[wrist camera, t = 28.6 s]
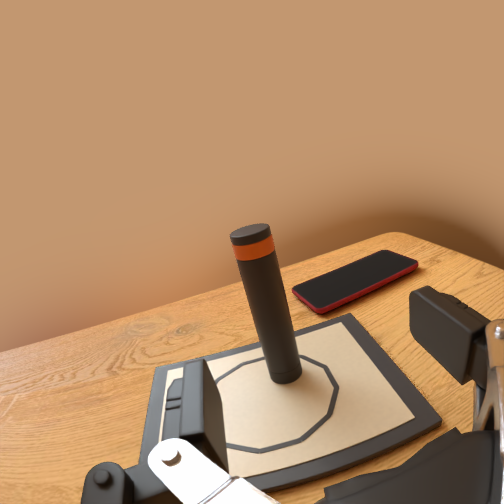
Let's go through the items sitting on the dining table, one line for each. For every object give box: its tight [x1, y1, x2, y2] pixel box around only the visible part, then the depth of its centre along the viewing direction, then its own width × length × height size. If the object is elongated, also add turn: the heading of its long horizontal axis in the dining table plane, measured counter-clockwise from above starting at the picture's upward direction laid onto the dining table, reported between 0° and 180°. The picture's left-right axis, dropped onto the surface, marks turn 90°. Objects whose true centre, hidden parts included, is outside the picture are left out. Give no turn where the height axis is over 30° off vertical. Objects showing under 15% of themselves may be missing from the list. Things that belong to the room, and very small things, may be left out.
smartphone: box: [292, 250, 418, 314], centre depth 36 cm, size 7×1×15 cm
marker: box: [230, 224, 302, 384], centre depth 22 cm, size 3×3×12 cm
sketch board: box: [139, 313, 442, 493], centre depth 22 cm, size 20×16×1 cm
